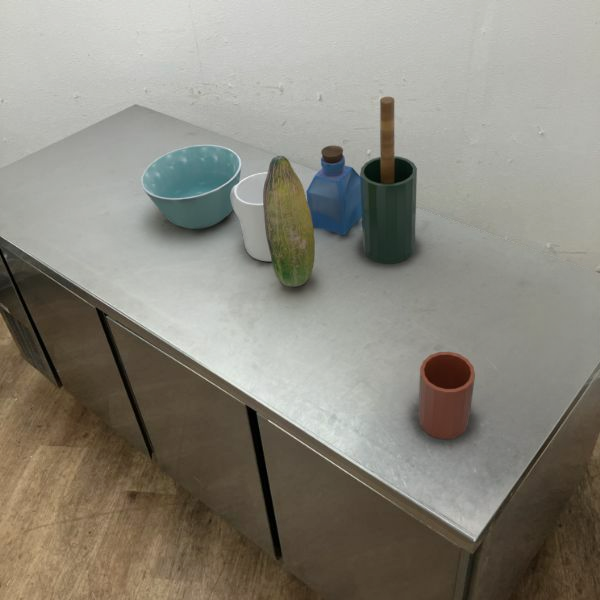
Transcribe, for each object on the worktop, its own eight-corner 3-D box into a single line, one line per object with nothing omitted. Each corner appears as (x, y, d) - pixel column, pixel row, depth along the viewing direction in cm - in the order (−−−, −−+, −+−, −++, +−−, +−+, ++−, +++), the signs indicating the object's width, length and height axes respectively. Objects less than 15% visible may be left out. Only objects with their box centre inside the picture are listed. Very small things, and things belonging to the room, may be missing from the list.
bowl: (138, 239, 102) (123, 195, 96) (175, 184, 113) (163, 142, 107) (231, 246, 98) (222, 201, 93) (260, 189, 109) (253, 145, 104)
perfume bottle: (364, 213, 101) (361, 144, 93) (344, 235, 97) (340, 166, 89) (330, 204, 104) (324, 136, 96) (309, 225, 100) (302, 157, 92)
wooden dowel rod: (403, 245, 93) (404, 101, 78) (382, 251, 92) (380, 108, 77) (393, 233, 95) (393, 91, 80) (373, 239, 94) (369, 97, 80)
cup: (424, 254, 92) (427, 176, 84) (376, 269, 91) (374, 191, 82) (400, 226, 98) (401, 150, 89) (355, 241, 96) (351, 164, 87)
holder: (478, 428, 70) (485, 381, 65) (433, 446, 69) (436, 399, 64) (452, 393, 74) (457, 345, 68) (409, 409, 73) (411, 361, 67)
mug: (218, 239, 100) (205, 182, 93) (257, 214, 104) (247, 158, 97) (271, 271, 93) (261, 211, 86) (311, 242, 97) (305, 184, 90)
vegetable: (326, 277, 91) (315, 151, 77) (307, 306, 87) (291, 178, 73) (288, 268, 93) (270, 144, 80) (267, 295, 89) (245, 170, 76)
